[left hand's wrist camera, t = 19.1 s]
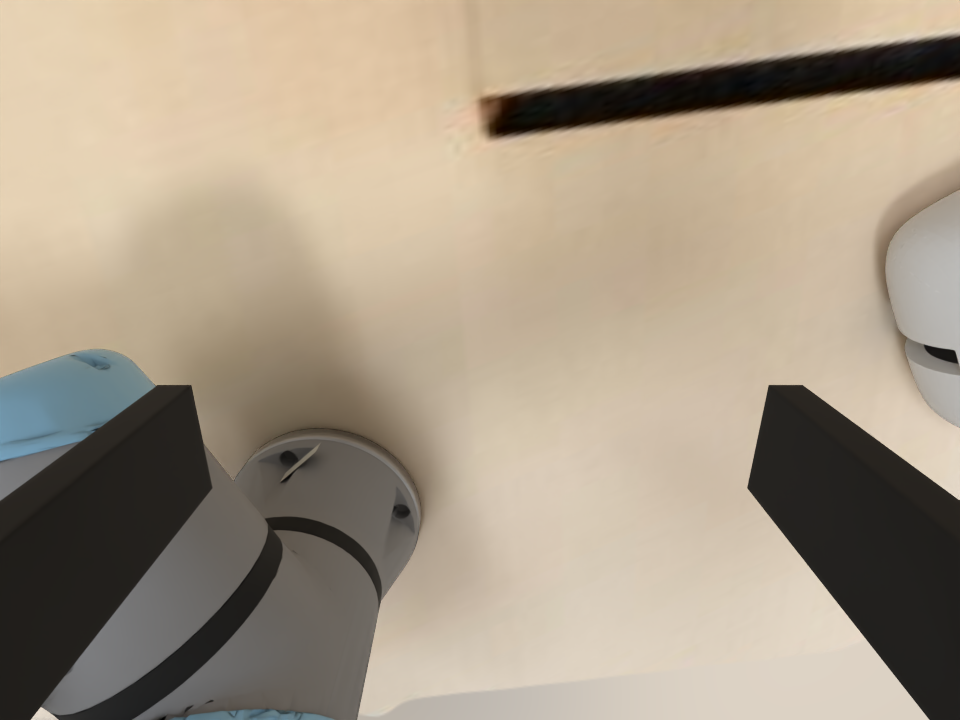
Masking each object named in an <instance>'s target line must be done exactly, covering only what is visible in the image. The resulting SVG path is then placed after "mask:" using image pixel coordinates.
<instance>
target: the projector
mask: <svg viewBox="0 0 960 720" xmlns="http://www.w3.org/2000/svg"><path fill="white" fill-rule="evenodd" d="M885 274H886V283H887V288H888V293H889V298H890V301H891V305H892V309H893V313H894V316H895V320H896V323H897V326H898V329H899V330H900V332H901V333H902V334H903V335H905V336H906V337H908V338H907V340H906V343H905V353H906V356H907V359H908V362H909V365H910V368H911V371H912V374H913V377H914V379H915V382H916V384H917V387H918V389H919V391H920V393H921V395H922V397H923V399H924V400H925V401H926V403H927V404H928V406H929V407H930V408H931V409H932V410H933V411H934V412H935V413H937V414H938V415H939V416H940V417H942V418H943V419H945V420H946V421H948V422H950V423H951V424H953V425H955V426H957V427H959V428H960V190H958V191H956V192H954V193H952V194H950V195H948V196H946V197H944V198H942V199H941V200H939V201H937V202H935V203H934V204H932V205H930V206H928V207H927V208H925V209H923V210H922V211H920V212H919V213H918V214H916V215H915V216H913V217H912V218H910V219H909V220H908V221H907V222H906V223H905V224H903V225H902V226H901V227H900V228H899V230H898V231H897V232H896V233H895V235H894V236H893V238H892V240H891V242H890V244H889V247H888V250H887V255H886V265H885Z"/></svg>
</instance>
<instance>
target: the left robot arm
mask: <svg viewBox="0 0 960 720" xmlns="http://www.w3.org/2000/svg"><path fill="white" fill-rule="evenodd" d="M747 488H748V490H749V491H750V492H751V493H752V495H753V496H754V497H755V498H756V500H757V501H758V502H759V504H760V505H761V506H762V507H763V509H764V510H765V511H766V512H767V514H768V515H769V516H770V517H771V519H772V520H773V521H774V523H775V524H776V525H777V526H778V528H779V529H780V530H781V531H782V533H783V534H784V535H785V537H786V538H787V539H788V540H789V542H790V543H791V544H792V545H793V547H794V548H795V549H796V551H797V552H798V553H799V554H800V556H801V557H802V558H803V559H804V561H805V562H806V563H807V565H808V566H809V567H810V568H811V570H812V571H813V572H814V573H815V575H816V576H817V577H818V579H819V580H820V581H821V582H822V584H823V585H824V586H825V587H826V589H827V590H828V591H829V593H830V594H831V595H832V596H833V598H834V599H835V600H836V601H837V603H838V604H839V605H840V607H841V608H842V609H843V610H844V612H845V613H846V614H847V615H848V617H849V618H850V619H851V620H852V622H853V623H854V624H855V626H856V627H857V628H858V629H859V631H860V632H861V633H862V634H863V636H864V637H865V638H866V640H867V641H868V642H869V643H870V645H871V646H872V647H873V648H874V650H875V651H876V652H877V654H878V655H879V656H880V657H881V659H882V660H883V661H884V662H885V664H886V665H887V666H888V668H889V669H890V670H891V671H892V673H893V674H894V675H895V676H896V678H897V679H898V680H899V682H900V683H901V684H902V685H903V687H904V688H905V689H906V690H907V692H908V693H909V694H910V696H911V697H912V698H913V699H914V701H915V702H916V703H917V704H918V706H919V707H920V708H921V709H922V711H923V712H924V713H925V715H926V716H927V717H928V718H929V720H960V500H958V499H957V498H955V497H954V496H953V495H951V494H950V493H948V492H947V491H946V490H944V489H943V488H942V487H940V486H939V485H938V484H936V483H935V482H933V481H932V480H931V479H929V478H928V477H927V476H925V475H924V474H923V473H921V472H920V471H919V470H917V469H916V468H914V467H913V466H912V465H910V464H909V463H908V462H906V461H905V460H904V459H902V458H901V457H899V456H898V455H897V454H895V453H894V452H893V451H891V450H890V449H889V448H887V447H886V446H885V445H883V444H882V443H880V442H879V441H878V440H876V439H875V438H874V437H872V436H871V435H870V434H868V433H867V432H865V431H864V430H863V429H861V428H860V427H859V426H857V425H856V424H855V423H853V422H852V421H851V420H849V419H848V418H846V417H845V416H844V415H842V414H841V413H840V412H838V411H837V410H836V409H834V408H833V407H831V406H830V405H829V404H827V403H826V402H825V401H823V400H822V399H821V398H819V397H818V396H817V395H815V394H814V393H812V392H811V391H810V390H808V389H807V388H806V387H804V386H803V385H769V387H768V392H767V396H766V401H765V406H764V411H763V416H762V420H761V425H760V430H759V435H758V439H757V444H756V449H755V454H754V459H753V463H752V468H751V473H750V478H749V483H748V487H747ZM420 521H421V505H420V500H419V496H418V492H417V489H416V487H415V485H414V482H413V481H412V479H411V477H410V475H409V474H408V472H407V471H406V470H405V468H404V467H403V466H402V465H401V464H400V462H399V461H398V460H397V459H396V458H395V457H393V456H392V455H391V454H390V453H389V452H387V451H386V450H385V449H383V448H382V447H380V446H379V445H377V444H375V443H373V442H372V441H370V440H368V439H365V438H363V437H361V436H358V435H355V434H352V433H348V432H344V431H340V430H333V429H305V430H299V431H294V432H291V433H287V434H284V435H282V436H279V437H277V438H275V439H273V440H271V441H269V442H268V443H266V444H265V445H263V446H262V447H261V448H260V449H258V450H257V451H256V452H255V453H254V454H253V455H252V456H251V457H250V459H249V460H248V461H247V463H246V464H245V465H244V467H243V468H242V469H241V471H240V472H239V473H238V475H237V477H236V478H235V480H234V481H233V480H232V479H231V477H230V476H229V475H228V474H227V472H226V471H225V470H224V469H223V467H222V466H221V465H220V464H219V462H218V461H217V460H216V459H215V457H214V456H213V455H212V454H211V452H210V451H209V450H208V449H207V447H206V446H205V445H204V444H203V440H202V435H201V430H200V425H199V420H198V416H197V411H196V406H195V401H194V396H193V392H192V387H191V385H157V386H155V385H154V384H153V383H152V381H151V380H150V379H149V378H148V377H147V376H146V375H145V374H144V373H143V372H142V370H141V369H140V368H139V367H138V366H137V365H136V364H135V363H134V362H133V361H132V360H130V359H129V358H127V357H126V356H124V355H122V354H120V353H117V352H114V351H110V350H104V349H91V350H83V351H78V352H74V353H71V354H68V355H64V356H61V357H58V358H55V359H52V360H49V361H46V362H44V363H41V364H38V365H35V366H32V367H29V368H26V369H24V370H21V371H18V372H15V373H13V374H10V375H7V376H5V377H2V378H0V720H31V718H32V717H33V716H34V715H35V713H36V712H37V711H38V710H39V708H40V707H42V708H44V709H45V710H47V711H48V712H50V713H51V714H53V715H54V716H55V717H56V718H57V719H59V720H357V717H358V712H359V707H360V702H361V697H362V692H363V687H364V682H365V677H366V672H367V667H368V662H369V657H370V652H371V647H372V642H373V637H374V632H375V627H376V622H377V617H378V612H379V607H380V603H381V600H382V599H383V597H384V596H385V594H386V593H387V592H388V590H389V589H390V587H391V586H392V584H393V583H394V581H395V580H396V579H397V577H398V576H399V574H400V573H401V571H402V570H403V569H404V567H405V566H406V564H407V563H408V561H409V559H410V557H411V555H412V553H413V551H414V549H415V546H416V543H417V540H418V534H419V528H420Z"/></svg>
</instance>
